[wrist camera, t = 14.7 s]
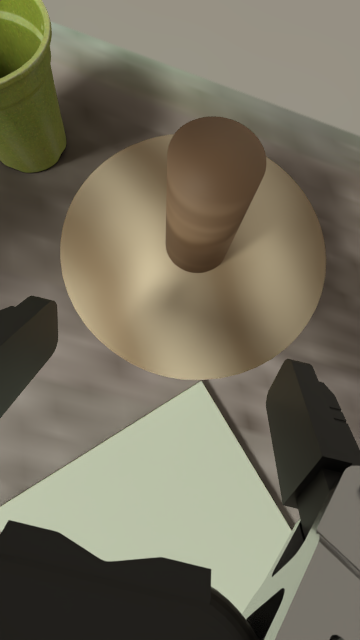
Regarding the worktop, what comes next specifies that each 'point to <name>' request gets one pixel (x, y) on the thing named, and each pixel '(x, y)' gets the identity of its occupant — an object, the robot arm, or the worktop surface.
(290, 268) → the lid
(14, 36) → the plant pot
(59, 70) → the worktop surface
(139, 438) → the mat
